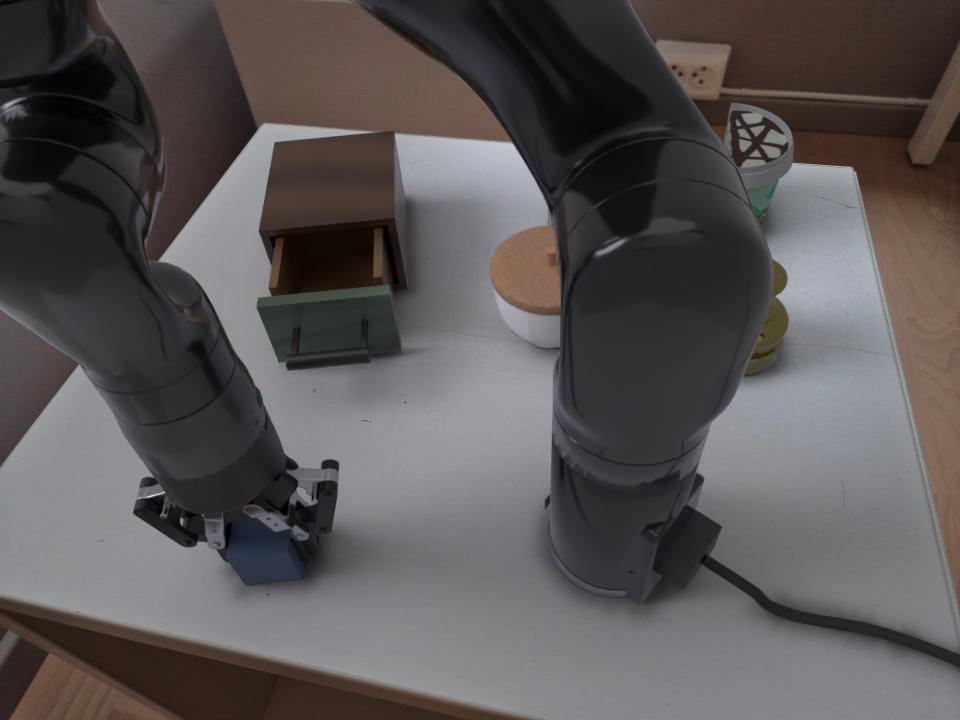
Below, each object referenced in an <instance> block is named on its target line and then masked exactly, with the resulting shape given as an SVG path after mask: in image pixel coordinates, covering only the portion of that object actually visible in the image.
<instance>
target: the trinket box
mask: <svg viewBox="0 0 960 720" xmlns="http://www.w3.org/2000/svg"><path fill="white" fill-rule="evenodd" d="M489 275H490V281H491V284H492V293H493V294H492V295H493V299H494V302H495V306H496V309H497V311H498V313H499V316H500V318H501V320H502V321H503V323H504V324H505V326H506V327H507V328H508V329H509V331H511V333H513V334H514V335H515V336H516V337H517V338H519V339H520V340H523V341H525V343H529V344H531V345H533V346H535V347H538V348H541V349H542V348H544V349H557V348H558V349H559V346H560V286H559V276H558V269H557V260H556V251H555V242H554V231H553V226H548V225H542V226H535V227H531V228H527V229H524V230H520V231H518V232H516V233H514V234H512V235H511V236H509V237H508V238H506V239H505V240H503V242H502V243H500V244H499V246H498V247H497V248H496V249H495V251H494V253H493V254H492V256H491V259H490V263H489Z"/></svg>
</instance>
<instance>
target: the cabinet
mask: <svg viewBox="0 0 960 720" xmlns="http://www.w3.org/2000/svg"><path fill="white" fill-rule="evenodd" d="M397 145H398V144H397V139H396V134H395V130H386V131H374V132H364V133H363V132H362V133H354V134H343V135H335V136H324V137H313V138H312V137H311V138H303V139H291V140H282V141H274V142H273V148H272V154H271V158H270V159H271V160H270V165H269V171H268V176H267V181H266V188H265V192H264V194H265V195H264V199H263V204H262V210H261V215H260V220H259V227H258V233H259V237H260V240H261V241H262V244H263V247H264V250H265V252H266V255H267V258H268V262H269V264H270V266H271V267H270V268H272V261H273V255H274V248H275V242H276V236H281V235H291V234H301V233H311V232H322V231H332V230H342V229H352V228H362V227H373V226H383V225H388V230H389V235H390V241H391V246H392V251H393V291H399V290H407V289H408V288H409V283H408V281H409V280H408V244H407V243H408V241H407V238H408V237H407V236H408V235H407V199H406V193H405V189H404V187H405V186H404V184H403V183H404V182H403V175H402V170H401V164H400V157H399V152H398V146H397Z"/></svg>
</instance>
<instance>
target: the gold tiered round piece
mask: <svg viewBox="0 0 960 720" xmlns="http://www.w3.org/2000/svg"><path fill="white" fill-rule="evenodd" d="M772 261H773V269H774V278H773V290H772V296H771V301H770V305H769V309H768V312H767V315H766V319H765V322H764V325H763V327H762V330H761V333H760V335H759V338H758V340H757V343H756V345H755V348H754V350H753V353H752V355H751V358H750V360H749V363H748V365H747V368H746V370H745V373H744V375H743V376H748V375H754V374H758V373H761V372H763V371H765V370H767V369H768V368H769V367H770V366H772V365H773V363H774V362H775V360H776V359H777V357H778V356H777V355H778V353H779V350H780V349H781V347H782V346H783V342H784V337H785V335H786V333H787V331H788V329H789V325H790V317H789V316H790V315H789V313H788V309H787V308H786V306H785V305H784V303H783V302H782V301H781V300H780V299H779V298H778V297H777V296H779V295H780V294H781V293H783V291H784V290H785V289H786V288H787V284H788V282H789V281H788V280H789V277H788V272H787V271H786V269H785V267H784V266H783V265H782V264H781V263H779V262H778V261H777V260H776V259H773V258H772Z"/></svg>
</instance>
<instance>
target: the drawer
mask: <svg viewBox="0 0 960 720" xmlns="http://www.w3.org/2000/svg"><path fill="white" fill-rule="evenodd" d="M270 268H271V269H270V274H269V276H270V277H269V282H268V287H267V288H268V290H269V294H270V296H260V297H259V296H258V297H257V302H256V306H255V307H256V310H257V312H258V315H259V317H260V320H261V322H262V325H263V327H264V330H265V332H266V335H267V337H268V339H269V342H270V344H271V347H272V350H273V351H274V354H275V357H276V359H277V362H278V363H279V364H280V363H285V367H286V369H287V371H288V372H291V371H293V372H294V371H302V370H303V371H304V370H311V369H321V368H323V369H324V368H331V367H332V368H333V367H342V366H351V365H362V364H370V363H371V361H372V354H380V353H389V352H400V351H401V352H402V349H403V348H402V343H403V342H402V337H401V331H400V327H399V324H398V323H399V322H398V317H397V312H396V308H395V303H394V290H393V251H392V246H391V241H390V235H389V230H388V225H383V226H373V227H362V228H352V229H342V230H332V231H322V232H311V233H301V234H291V235H281V236H276V242H275V248H274V255H273V261H272V267H270Z"/></svg>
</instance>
